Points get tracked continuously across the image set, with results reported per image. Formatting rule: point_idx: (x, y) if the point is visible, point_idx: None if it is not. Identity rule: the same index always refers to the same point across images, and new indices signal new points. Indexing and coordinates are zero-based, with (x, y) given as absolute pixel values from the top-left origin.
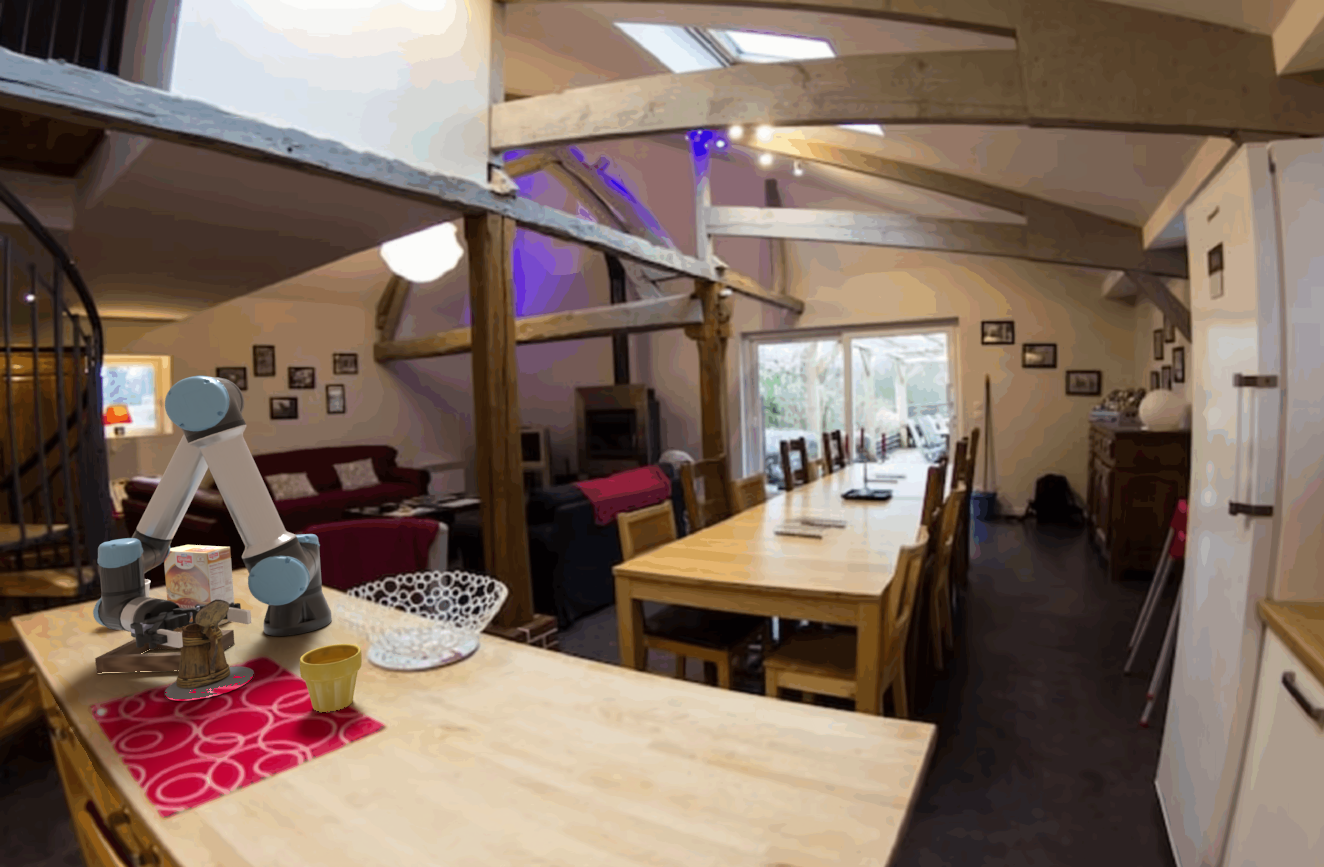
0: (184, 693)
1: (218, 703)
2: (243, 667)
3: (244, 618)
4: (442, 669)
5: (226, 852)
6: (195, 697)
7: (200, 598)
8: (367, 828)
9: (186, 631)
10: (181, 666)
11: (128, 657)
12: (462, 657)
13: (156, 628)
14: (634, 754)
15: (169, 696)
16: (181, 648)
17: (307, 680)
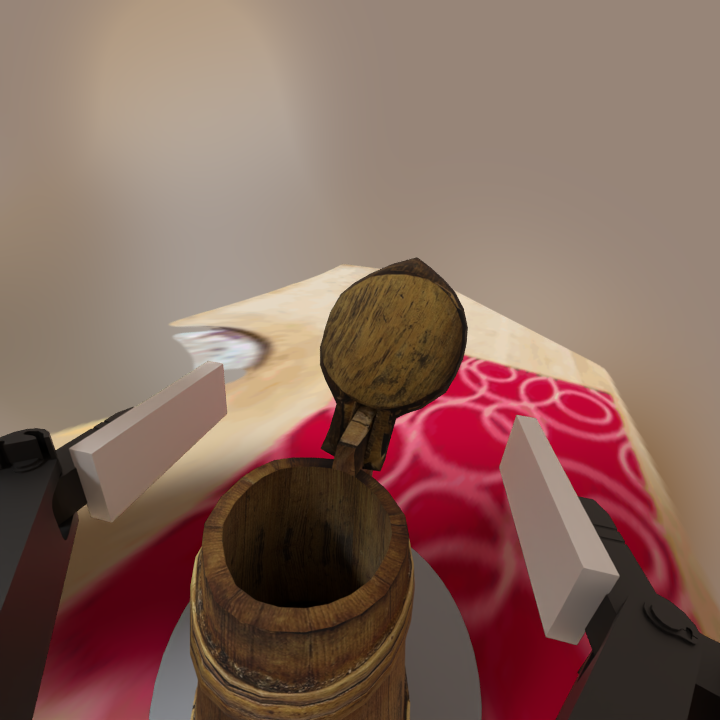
0: (434, 659)
1: (425, 512)
2: (186, 615)
3: (213, 404)
4: (266, 335)
5: (577, 355)
6: (439, 580)
7: None
8: (505, 326)
9: (407, 531)
10: (401, 701)
11: None
12: (229, 330)
13: (613, 654)
14: None
15: (478, 709)
16: (392, 670)
17: None
